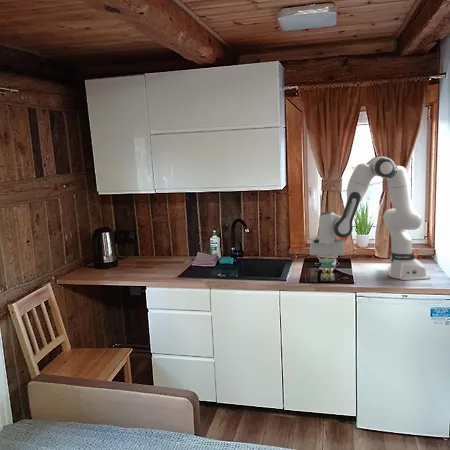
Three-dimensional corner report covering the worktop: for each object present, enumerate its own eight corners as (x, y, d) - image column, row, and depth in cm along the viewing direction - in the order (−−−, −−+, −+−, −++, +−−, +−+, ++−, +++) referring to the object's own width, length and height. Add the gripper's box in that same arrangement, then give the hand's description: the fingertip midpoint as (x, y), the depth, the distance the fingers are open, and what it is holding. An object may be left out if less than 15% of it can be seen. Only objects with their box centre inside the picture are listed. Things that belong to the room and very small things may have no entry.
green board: (332, 262, 278) (332, 258, 278) (332, 268, 265) (332, 263, 264) (321, 262, 279) (321, 258, 279) (321, 268, 266) (321, 263, 265)
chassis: (334, 274, 279) (334, 266, 278) (334, 281, 266) (334, 272, 265) (320, 274, 281) (320, 266, 280) (320, 281, 268) (320, 272, 267)
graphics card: (337, 258, 306) (332, 268, 283) (337, 263, 307) (332, 273, 283) (321, 258, 310) (316, 267, 286) (321, 263, 310) (316, 273, 287)
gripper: (344, 238, 270) (345, 261, 273) (309, 238, 275) (309, 261, 277) (345, 240, 264) (345, 263, 266) (309, 240, 269) (309, 263, 271)
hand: (327, 262), depth 272 cm, fingers closed on green board, 6 cm apart
